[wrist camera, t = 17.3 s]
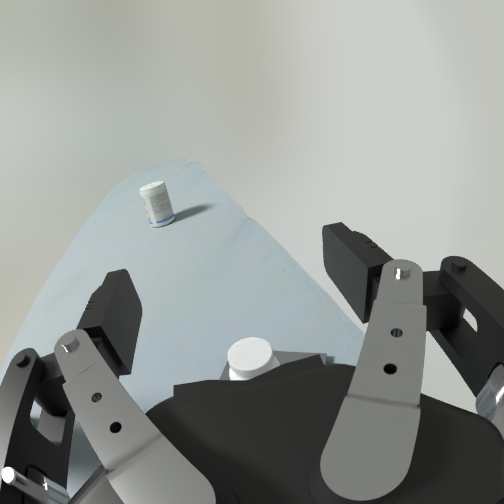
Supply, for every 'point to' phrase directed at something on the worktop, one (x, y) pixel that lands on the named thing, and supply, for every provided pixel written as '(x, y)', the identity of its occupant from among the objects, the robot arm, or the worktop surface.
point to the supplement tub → (157, 204)
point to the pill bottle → (250, 358)
